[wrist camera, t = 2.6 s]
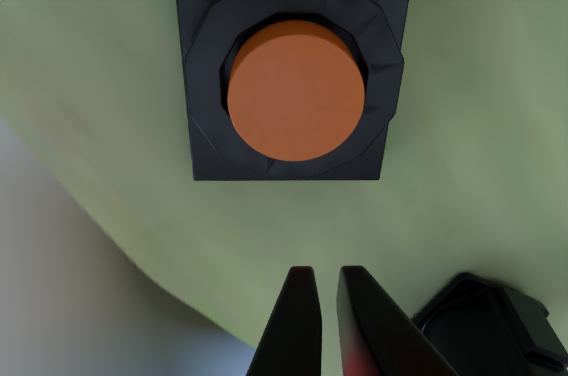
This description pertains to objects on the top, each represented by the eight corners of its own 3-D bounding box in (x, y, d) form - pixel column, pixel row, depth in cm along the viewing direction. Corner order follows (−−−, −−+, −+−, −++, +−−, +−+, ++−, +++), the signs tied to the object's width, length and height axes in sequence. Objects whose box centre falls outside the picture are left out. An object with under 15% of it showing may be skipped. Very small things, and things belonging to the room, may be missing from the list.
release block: (374, 166, 22) (388, 205, 19) (196, 166, 22) (188, 206, 19) (413, -87, 16) (440, -76, 14) (172, -93, 16) (157, -82, 13)
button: (350, 139, 18) (356, 161, 17) (232, 140, 18) (230, 162, 17) (364, 20, 16) (373, 35, 14) (227, 18, 15) (224, 33, 14)
